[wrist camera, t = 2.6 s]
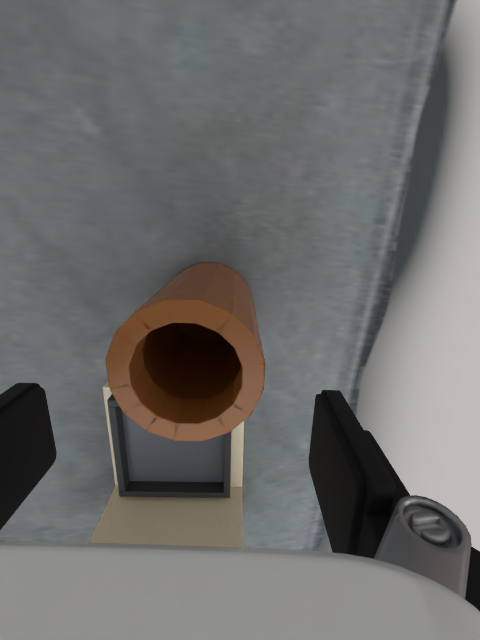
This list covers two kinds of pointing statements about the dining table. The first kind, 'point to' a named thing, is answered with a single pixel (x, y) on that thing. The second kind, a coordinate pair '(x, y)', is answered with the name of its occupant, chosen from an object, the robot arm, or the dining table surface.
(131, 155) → the dining table surface
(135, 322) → the brown hollow cylinder
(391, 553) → the robot arm
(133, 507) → the coffee maker
